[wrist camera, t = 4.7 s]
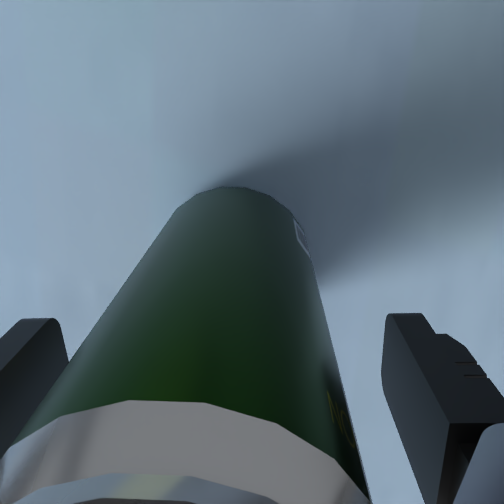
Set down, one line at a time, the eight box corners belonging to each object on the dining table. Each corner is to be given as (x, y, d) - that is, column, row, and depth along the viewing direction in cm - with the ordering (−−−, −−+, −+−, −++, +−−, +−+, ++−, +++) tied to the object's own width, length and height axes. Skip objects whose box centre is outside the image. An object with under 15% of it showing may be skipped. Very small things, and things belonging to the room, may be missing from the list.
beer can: (269, 155, 15) (279, 397, 3) (330, 284, 16) (468, 726, 5) (135, 220, 16) (-196, 573, 4) (205, 335, 17) (96, 798, 6)
